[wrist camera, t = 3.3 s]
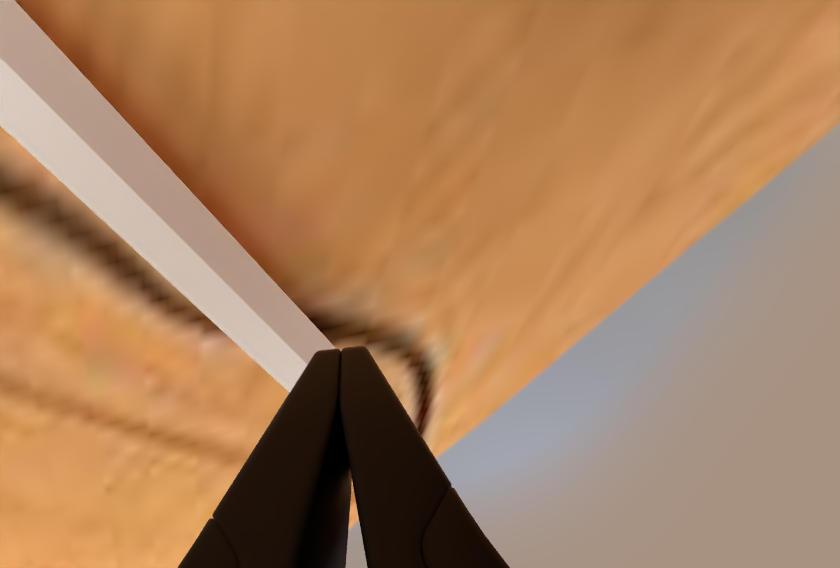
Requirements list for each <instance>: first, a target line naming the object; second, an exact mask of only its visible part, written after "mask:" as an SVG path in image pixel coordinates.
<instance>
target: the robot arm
mask: <svg viewBox="0 0 840 568" xmlns="http://www.w3.org/2000/svg"><path fill="white" fill-rule="evenodd" d="M352 481H353V487H354V493H355V498H356V504H357V510H358V516H359V521H360V527H361V533H362V538H363V544H364V550H365V555H366V561H367V566H368V568H510V567H509V566H508V565H507V564H506V562H505V561H504V560H503V558H502V557H501V556H500V554H499V553H498V552H497V551H496V549H495V548H494V547H493V545H492V544H491V543H490V541H489V540H488V539H487V538H486V536H485V535H484V533H483V532H482V530H481V529H480V527H479V526H478V524H477V523H476V522H475V520H474V518H473V517H472V516H471V514H470V513H469V511H468V510H467V508H466V507H465V505H464V503H463V502H462V500H461V499H460V497H459V496H458V494H457V492H456V491H455V489H454V488H451V483H450V481H449V480H448V478H447V477H446V475H445V473H444V472H443V470H442V469H441V467H440V465H439V464H438V462H437V460H436V459H435V457H434V456H433V454H432V452H431V451H430V449H429V447H428V446H427V444H426V443H425V441H424V439H423V438H422V436H421V435H420V433H419V431H418V430H417V428H416V427H415V425H414V423H413V422H412V420H411V418H410V417H409V415H408V414H407V412H406V410H405V409H404V407H403V406H402V404H401V402H400V401H399V399H398V398H397V396H396V394H395V393H394V391H393V389H392V388H391V386H390V385H389V383H388V381H387V380H386V378H385V377H384V375H383V373H382V372H381V370H380V369H379V367H378V365H377V364H376V362H375V360H374V359H373V357H372V356H371V354H370V352H369V351H368V349H367V348H366V347H365V346H356V347H347V348H343V349H342V351H340V350H339V349H328V350H319V351H317V352H316V353H315V354H314V355H313V357H312V358H311V360H310V362H309V363H308V365H307V366H306V368H305V369H304V371H303V373H302V374H301V376H300V377H299V379H298V381H297V382H296V384H295V385H294V387H293V388H292V390H291V392H290V393H289V395H288V396H287V398H286V399H285V401H284V403H283V404H282V406H281V407H280V409H279V410H278V412H277V414H276V415H275V417H274V418H273V420H272V421H271V423H270V425H269V426H268V428H267V429H266V431H265V433H264V434H263V436H262V437H261V439H260V440H259V442H258V444H257V445H256V447H255V448H254V450H253V451H252V453H251V455H250V456H249V458H248V459H247V461H246V462H245V464H244V466H243V467H242V469H241V470H240V472H239V473H238V475H237V477H236V478H235V480H234V481H233V483H232V485H231V486H230V488H229V489H228V491H227V492H226V494H225V496H224V497H223V499H222V500H221V502H220V503H219V505H218V507H217V508H216V510H215V511H214V513H213V518H214V519H209V520H208V522H207V523H206V525H205V527H204V528H203V530H202V531H201V533H200V535H199V536H198V538H197V539H196V541H195V542H194V544H193V545H192V547H191V548H190V550H189V551H188V553H187V554H186V556H185V557H184V559H183V560H182V562H181V563H180V565H179V566H178V568H345V566H346V553H347V539H348V526H349V512H350V499H351V482H352Z"/></svg>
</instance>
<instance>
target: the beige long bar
mask: <svg viewBox="0 0 840 568" xmlns="http://www.w3.org/2000/svg"><path fill="white" fill-rule="evenodd" d="M0 126H1V127H2V128H3V129H4V130H5V131H6V132H8V133H9V134H10V135H11V136H12V137H13V138H14V139H15V140H16V141H17V142H18V143H19V144H21V145H22V146H23V147H24V148H25V149H26V150H27V151H28V152H29V153H30V154H31V155H32V156H34V157H35V158H36V159H37V160H38V161H39V162H40V163H41V164H42V165H43V166H44V167H45V168H47V169H48V170H49V171H50V172H51V173H52V174H53V175H54V176H55V177H56V178H57V179H58V180H60V181H61V182H62V183H63V184H64V185H65V186H66V187H67V188H68V189H69V190H70V191H71V192H73V193H74V194H75V195H76V196H77V197H78V198H79V199H80V200H81V201H82V202H83V203H84V204H86V205H87V206H88V207H89V208H90V209H91V210H92V211H93V212H94V213H95V214H96V215H97V216H99V217H100V218H101V219H102V220H103V221H104V222H105V223H106V224H107V225H108V226H109V227H110V228H112V229H113V230H114V231H115V232H116V233H117V234H118V235H119V236H120V237H121V238H122V239H123V240H125V241H126V242H127V243H128V244H129V245H130V246H131V247H132V248H133V249H134V250H135V251H136V252H138V253H139V254H140V255H141V256H142V257H143V258H144V259H145V260H146V261H147V262H148V263H149V264H151V265H152V266H153V267H154V268H155V269H156V270H157V271H158V272H159V273H160V274H161V275H162V276H164V277H165V278H166V279H167V280H168V281H169V282H170V283H171V284H172V285H173V286H174V287H175V288H177V289H178V290H179V291H180V292H181V293H182V294H183V295H184V296H185V297H186V298H187V299H188V300H190V301H191V302H192V303H193V304H194V305H195V306H196V307H197V308H198V309H199V310H200V311H201V312H203V313H204V314H205V315H206V316H207V317H208V318H209V319H210V320H211V321H212V322H213V323H214V324H216V325H217V326H218V327H219V328H220V329H221V330H222V331H223V332H224V333H225V334H226V335H227V336H229V337H230V338H231V339H232V340H233V341H234V342H235V343H236V344H237V345H238V346H239V347H240V348H242V349H243V350H244V351H245V352H246V353H247V354H248V355H249V356H250V357H251V358H252V359H253V360H255V361H256V362H257V363H258V364H259V365H260V366H261V367H262V368H263V369H264V370H265V371H266V372H268V373H269V374H270V375H271V376H272V377H273V378H274V379H275V380H276V381H277V382H278V383H279V384H281V385H282V386H283V387H284V388H285V389H286V390H287V391H288V392H289V393H290V392H291V390H292V388H293V387H294V385H295V384H296V382H297V381H298V379H299V377H300V376H301V374H302V373H303V371H304V369H305V368H306V366H307V365H308V363H309V362H310V360H311V358H312V357H313V355H314V354H315V353H316V352H317V351H319V350H328V349H336V348H335V347H334V346H333V345H332V344H331V342H330V341H329V340H328V339H327V338H326V337H325V336H324V335H323V334H322V333H321V332H320V331H319V329H318V328H317V327H316V326H315V325H314V324H313V323H312V322H311V321H310V320H309V319H308V318H307V316H306V315H305V314H304V313H303V312H302V311H301V310H300V309H299V308H298V307H297V306H296V305H295V303H294V302H293V301H292V300H291V299H290V298H289V297H288V296H287V295H286V294H285V293H284V292H283V290H282V289H281V288H280V287H279V286H278V285H277V284H276V283H275V282H274V281H273V280H272V279H271V277H270V276H269V275H268V274H267V273H266V272H265V271H264V270H263V269H262V268H261V267H260V266H259V264H258V263H257V262H256V261H255V260H254V259H253V258H252V257H251V256H250V255H249V254H248V253H247V251H246V250H245V249H244V248H243V247H242V246H241V245H240V244H239V243H238V242H237V241H236V240H235V238H234V237H233V236H232V235H231V234H230V233H229V232H228V231H227V230H226V229H225V228H224V227H223V225H222V224H221V223H220V222H219V221H218V220H217V219H216V218H215V217H214V216H213V215H212V214H211V212H210V211H209V210H208V209H207V208H206V207H205V206H204V205H203V204H202V203H201V202H200V201H199V199H198V198H197V197H196V196H195V195H194V194H193V193H192V192H191V191H190V190H189V189H188V188H187V186H186V185H185V184H184V183H183V182H182V181H181V180H180V179H179V178H178V177H177V176H176V175H175V174H174V172H173V171H172V170H171V169H170V168H169V167H168V166H167V165H166V164H165V163H164V162H163V161H162V159H161V158H160V157H159V156H158V155H157V154H156V153H155V152H154V151H153V150H152V149H151V148H150V146H149V145H148V144H147V143H146V142H145V141H144V140H143V139H142V138H141V137H140V136H139V135H138V133H137V132H136V131H135V130H134V129H133V128H132V127H131V126H130V125H129V124H128V123H127V122H126V120H125V119H124V118H123V117H122V116H121V115H120V114H119V113H118V112H117V111H116V110H115V109H114V107H113V106H112V105H111V104H110V103H109V102H108V101H107V100H106V99H105V98H104V97H103V96H102V94H101V93H100V92H99V91H98V90H97V89H96V88H95V87H94V86H93V85H92V84H91V83H90V81H89V80H88V79H87V78H86V77H85V76H84V75H83V74H82V73H81V72H80V71H79V70H78V68H77V67H76V66H75V65H74V64H73V63H72V62H71V61H70V60H69V59H68V58H67V57H66V55H65V54H64V53H63V52H62V51H61V50H60V49H59V48H58V47H57V46H56V45H55V44H54V42H53V41H52V40H51V39H50V38H49V37H48V36H47V35H46V34H45V33H44V32H43V31H42V29H41V28H40V27H39V26H38V25H37V24H36V23H35V22H34V21H33V20H32V19H31V18H30V16H29V15H28V14H27V13H26V12H25V11H24V10H23V9H22V8H21V7H20V6H19V5H18V3H17V2H16V1H15V0H0Z"/></svg>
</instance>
